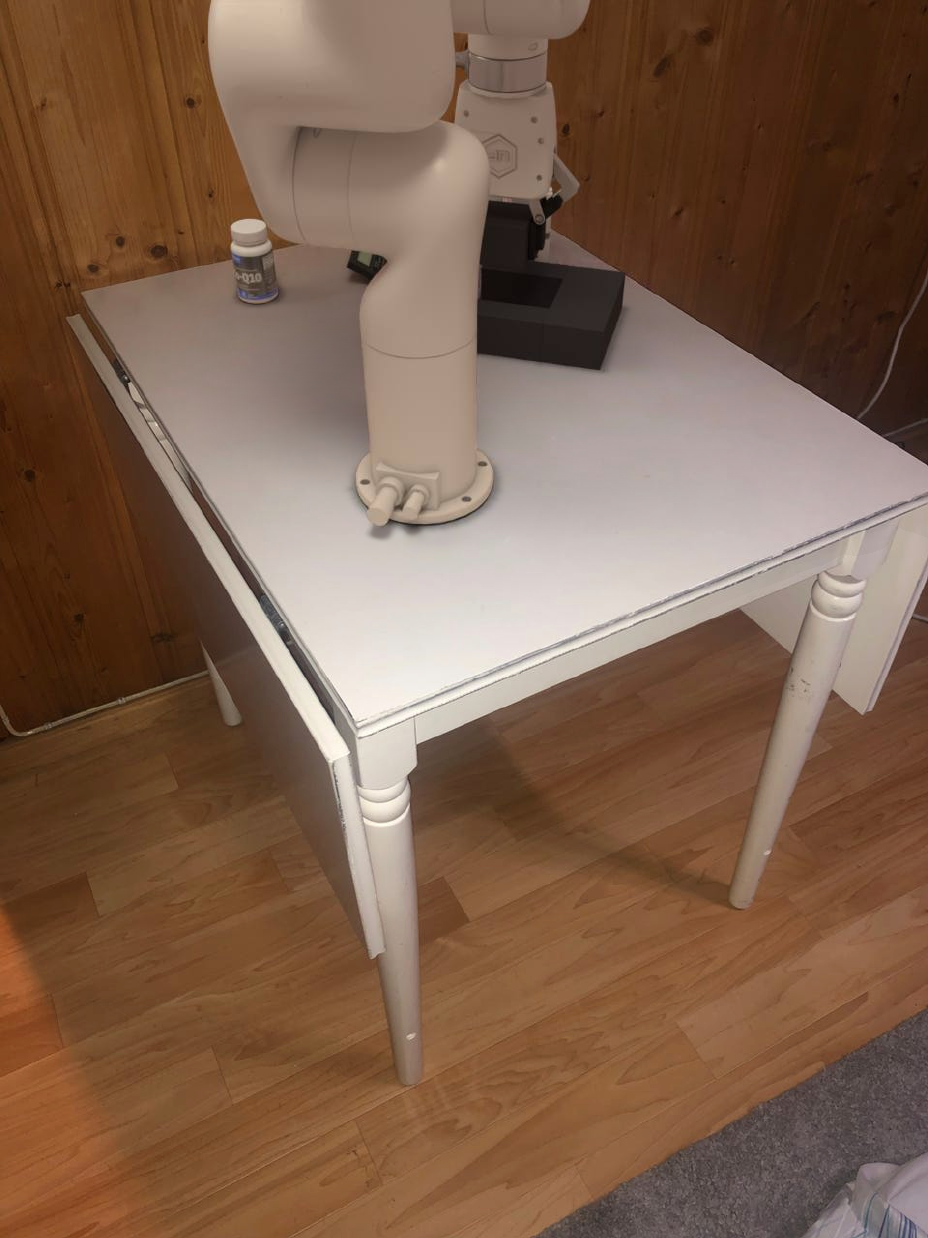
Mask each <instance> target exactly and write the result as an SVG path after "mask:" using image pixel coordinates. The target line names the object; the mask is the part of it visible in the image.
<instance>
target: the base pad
mask: <svg viewBox="0 0 928 1238" xmlns="http://www.w3.org/2000/svg"><path fill="white" fill-rule="evenodd" d="M626 274H627V272H626V271H619V270H610V269H602V268H594V267H587V266H586V267H585V266H577V265H569V264H563V263H555V262H553V263H552V262H548V263H545V262H537V261H528V263H527V265H526V267H525V269H524V270H518V269H510V268H502V267H494V266H486V265H481V268H480V298H479V299H478V298H477V354H483V355H491V356H497V357H504V358H513V359H518V360H525V361H532V362H533V361H534V362H538V363H539V362H541V363H548V364H555V365H563V366H568V367H569V366H570V367H576V368H584V369H591V370H592V369H593V370H597V371H600V370H601V368H602V366H603V363H604V360H605V358H606V354H607V352H608V348H609V345H610V343H611V341H612V337H613V335H614V332H615V329H616V326H617V324H618V320H619V317H620V315H621V312H622V309H623V301H624V293H625V284H626Z"/></svg>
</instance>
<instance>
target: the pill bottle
mask: <svg viewBox="0 0 928 1238" xmlns="http://www.w3.org/2000/svg"><path fill="white" fill-rule="evenodd" d="M230 232H231V233H230V235H231V239H232V242H231V243H230V254H231V260H232V266H233V272H234V277H235V283H236V290H237V291H236V292H237V295H238V298H239V299H240V300H241V301H243V302H244V303H248V304H257V305H258V304H259V305H260V304H265V303H269V302H272V300H274V299H275V298H277V296H278V294H279V287H278V281H277V279H278V278H277V273H276V265H275V264H276V263H275V258H274V257H275V256H274V250H273V244H272V241H271V240H270V238H268V237H269V236H268V229H267V224H266V223H265V221H264V220H261V219H256V218H244V219H240V220H236V221H234V222H233V223H232V224H231V225H230Z"/></svg>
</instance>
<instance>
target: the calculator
mask: <svg viewBox="0 0 928 1238" xmlns="http://www.w3.org/2000/svg"><path fill="white" fill-rule="evenodd" d="M350 251H351V252H350V254H349V257H348V261H347V264H346V269H348V270H350V271H352V272H354V273H356V274H358V275H360V276H362V277H363V278H366V279H368V280H370V281H371V280H372V279H373V278H374V277H375V275H376V274H377V273H378V272H379V271H380V270H381V269H382V267H383V266H384V265H385V264H386V263H387V260H386V259H385V258H384V257H383V256H380V255H376V254H370V253H364V252H362V251H354V250H350Z"/></svg>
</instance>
